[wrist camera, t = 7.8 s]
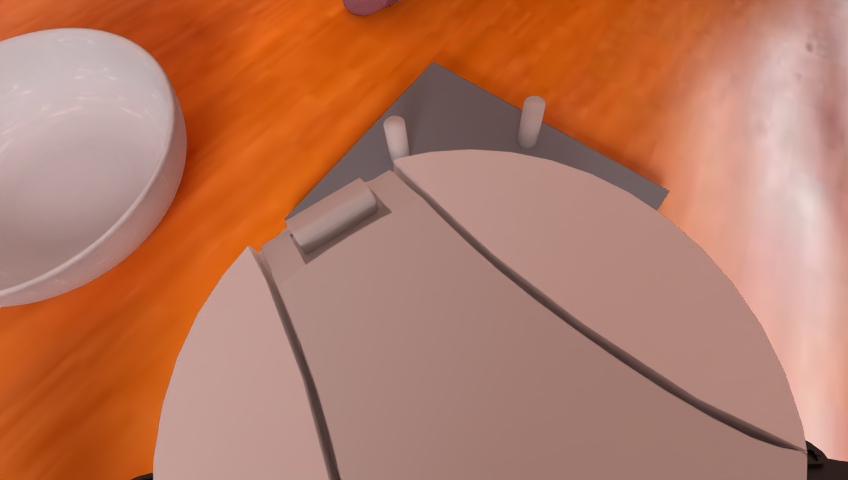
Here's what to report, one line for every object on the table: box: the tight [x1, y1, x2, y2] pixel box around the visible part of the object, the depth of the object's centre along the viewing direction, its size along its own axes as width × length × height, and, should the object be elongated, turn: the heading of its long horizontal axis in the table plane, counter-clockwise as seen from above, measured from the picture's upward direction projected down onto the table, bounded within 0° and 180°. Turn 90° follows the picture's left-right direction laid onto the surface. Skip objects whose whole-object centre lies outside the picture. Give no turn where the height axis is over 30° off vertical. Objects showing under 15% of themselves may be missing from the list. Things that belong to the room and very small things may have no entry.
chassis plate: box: [285, 62, 669, 220], centre depth 34 cm, size 20×17×6 cm
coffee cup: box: [153, 149, 807, 480], centre depth 13 cm, size 8×8×15 cm
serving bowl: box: [0, 28, 187, 307], centre depth 36 cm, size 21×21×7 cm
